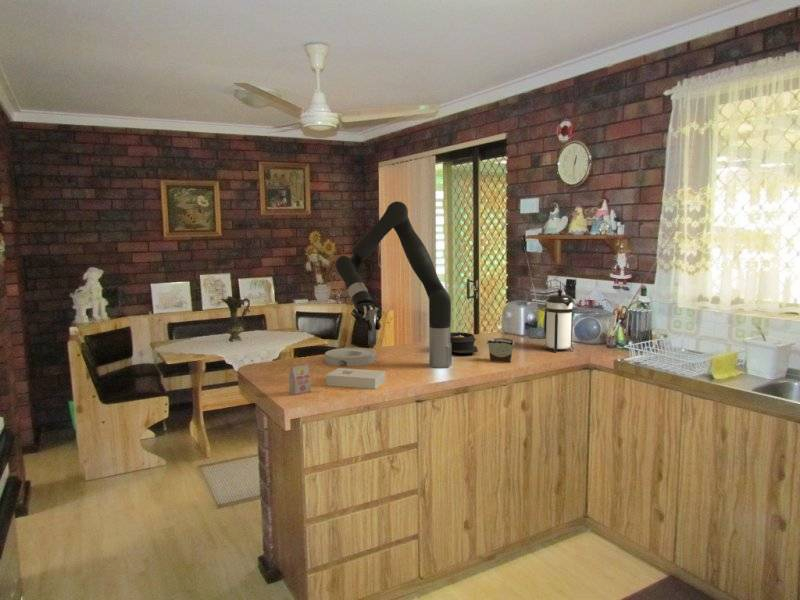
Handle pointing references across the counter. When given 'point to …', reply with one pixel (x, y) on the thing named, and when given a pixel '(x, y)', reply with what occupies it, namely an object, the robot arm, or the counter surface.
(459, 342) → the casserole
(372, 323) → the graphite peg
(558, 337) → the coffee press
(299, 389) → the grey printed package
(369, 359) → the ashtray
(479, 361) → the counter surface
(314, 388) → the counter surface
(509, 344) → the food container
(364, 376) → the peg block
